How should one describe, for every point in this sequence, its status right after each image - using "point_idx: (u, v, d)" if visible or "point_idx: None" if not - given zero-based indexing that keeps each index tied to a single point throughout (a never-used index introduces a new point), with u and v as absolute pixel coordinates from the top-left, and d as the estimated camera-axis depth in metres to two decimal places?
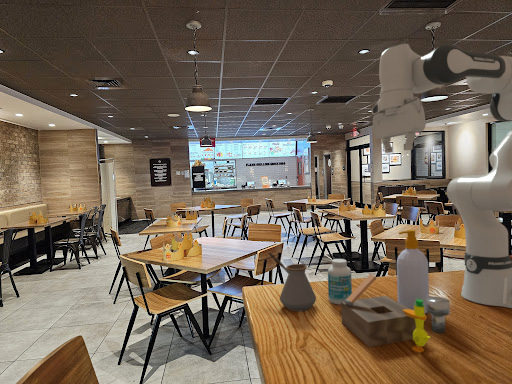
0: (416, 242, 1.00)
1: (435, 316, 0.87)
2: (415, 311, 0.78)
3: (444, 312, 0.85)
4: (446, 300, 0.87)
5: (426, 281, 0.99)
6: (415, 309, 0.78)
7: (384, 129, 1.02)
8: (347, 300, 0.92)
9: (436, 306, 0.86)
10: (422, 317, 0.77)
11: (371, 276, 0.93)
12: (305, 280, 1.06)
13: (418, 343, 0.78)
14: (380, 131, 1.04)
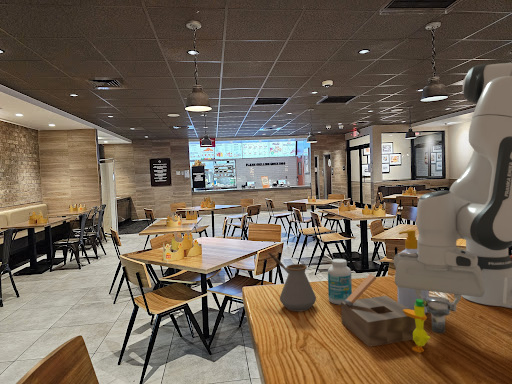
0: (416, 242, 1.00)
1: (435, 316, 0.87)
2: (415, 311, 0.78)
3: (444, 312, 0.85)
4: (446, 300, 0.87)
5: None
6: (415, 309, 0.78)
7: None
8: (347, 300, 0.92)
9: (436, 306, 0.86)
10: (422, 317, 0.77)
11: (371, 276, 0.93)
12: (305, 280, 1.06)
13: (418, 343, 0.78)
14: None
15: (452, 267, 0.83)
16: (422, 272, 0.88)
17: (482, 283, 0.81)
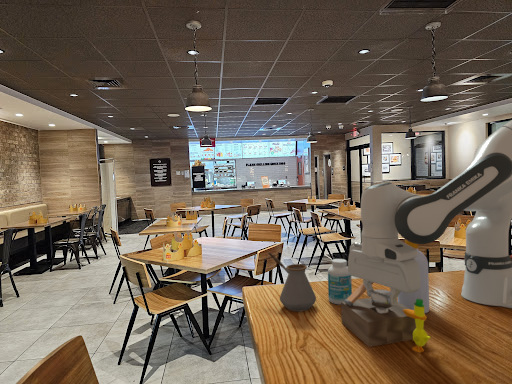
0: None
1: (376, 308, 0.88)
2: (415, 311, 0.78)
3: (381, 304, 0.85)
4: (389, 294, 0.86)
5: (426, 281, 0.99)
6: (415, 309, 0.78)
7: None
8: (347, 300, 0.92)
9: (374, 298, 0.86)
10: (422, 317, 0.77)
11: None
12: (305, 280, 1.06)
13: (418, 343, 0.78)
14: None
15: (384, 259, 0.83)
16: (366, 262, 0.89)
17: (408, 278, 0.78)
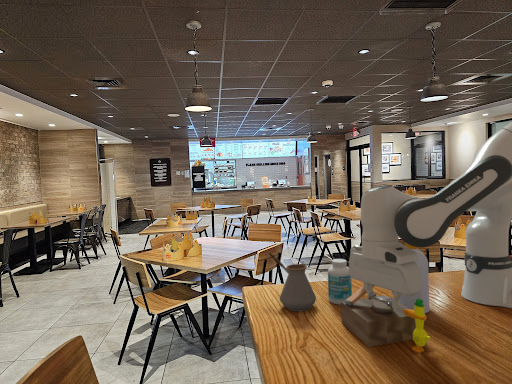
0: None
1: None
2: (415, 311, 0.78)
3: (382, 311, 0.85)
4: None
5: (426, 281, 0.99)
6: (415, 309, 0.78)
7: None
8: (347, 300, 0.92)
9: (375, 304, 0.87)
10: (422, 317, 0.77)
11: None
12: (305, 280, 1.06)
13: (418, 343, 0.78)
14: None
15: (384, 262, 0.83)
16: (367, 265, 0.89)
17: (408, 281, 0.78)
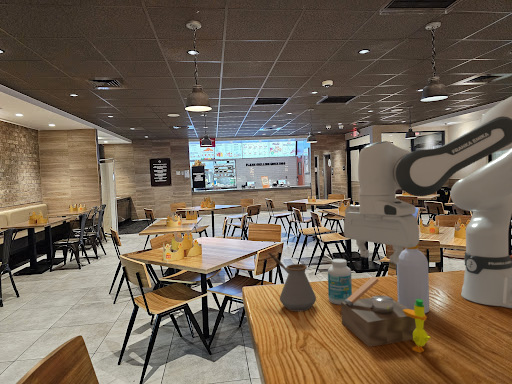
0: None
1: None
2: (415, 311, 0.78)
3: (382, 311, 0.85)
4: (390, 300, 0.86)
5: (426, 281, 0.99)
6: (415, 309, 0.78)
7: None
8: (347, 300, 0.92)
9: (375, 304, 0.87)
10: (422, 317, 0.77)
11: (373, 278, 0.94)
12: (305, 280, 1.06)
13: (418, 343, 0.78)
14: None
15: (383, 216, 0.83)
16: (363, 223, 0.89)
17: (408, 233, 0.78)
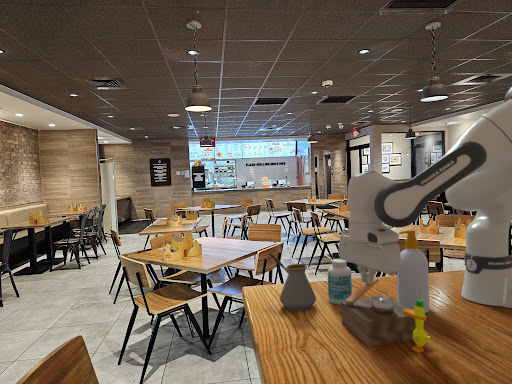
0: (416, 242, 1.00)
1: None
2: (415, 311, 0.78)
3: (382, 311, 0.85)
4: (390, 300, 0.86)
5: (426, 281, 0.99)
6: (415, 309, 0.78)
7: None
8: (347, 300, 0.92)
9: (375, 304, 0.87)
10: (422, 317, 0.77)
11: None
12: (305, 280, 1.06)
13: (418, 343, 0.78)
14: None
15: (367, 243, 0.88)
16: (354, 247, 0.95)
17: (388, 260, 0.83)
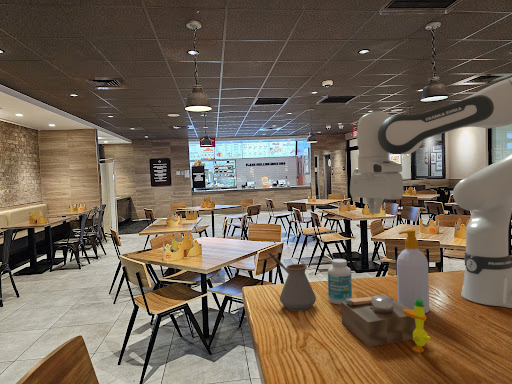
0: (416, 242, 1.00)
1: None
2: (415, 311, 0.78)
3: (382, 311, 0.85)
4: (390, 300, 0.86)
5: (426, 281, 0.99)
6: (415, 309, 0.78)
7: None
8: (349, 299, 0.93)
9: (375, 304, 0.87)
10: (422, 317, 0.77)
11: None
12: (305, 280, 1.06)
13: (418, 343, 0.78)
14: None
15: (373, 174, 0.98)
16: (362, 182, 1.05)
17: (390, 186, 0.93)
